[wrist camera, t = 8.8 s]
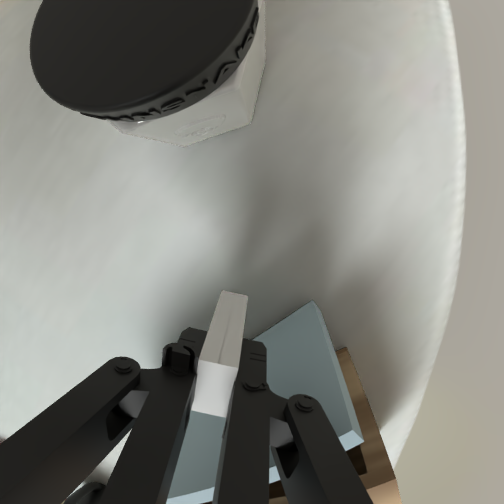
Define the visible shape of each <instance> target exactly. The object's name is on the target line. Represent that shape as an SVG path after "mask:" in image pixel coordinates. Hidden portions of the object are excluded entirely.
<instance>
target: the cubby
mask: <svg viewBox="0 0 504 504" xmlns="http://www.w3.org/2000/svg"><path fill="white" fill-rule="evenodd" d="M335 353H336V356H337V359H338V362H339V365H340V368H341V371H342V374H343V377H344V380H345V383H346V386H347V389H348V392H349V395H350V398H351V401H352V404H353V407H354V410H355V413H356V417H357V420H358V423H359V426H360V429H361V433H362V436H363V439H364V442H363V443H361V444H359V445H357V446H355V447H353V448H351V449H349V450H347V451H346V453H347V455H348V457H349V459H350V460H351V462H352V464H353V466H354V468H355V470H356V472H357V474H358V475H359V477H360V479H361V481H362V483H363V485H364V487H365V488H366V490H367V492H368V494H369V496H370V498H371V499H372V501H373V503H374V504H402V503H401V498H400V494H399V490H398V485H397V481H396V477H395V475H394V471H393V469H392V466H391V463H390V460H389V457H388V454H387V451H386V449H385V446H384V443H383V440H382V438H381V435H380V432H379V429H378V427H377V424H376V421H375V419H374V416H373V413H372V411H371V408H370V405H369V403H368V400H367V398H366V395H365V392H364V390H363V387H362V385H361V382H360V380H359V377H358V375H357V372H356V370H355V367H354V365H353V362H352V360H351V357H350V355H349V352H348V350H347V347H345V348H343V349H340V350H338V351H335ZM201 504H212V501H209V502H205V503H201ZM269 504H289V503H288V501H287V498H286V495H285V492H284V489H283V486H282V483H281V480H278V481H275V482H272V483H270V484H269Z"/></svg>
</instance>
